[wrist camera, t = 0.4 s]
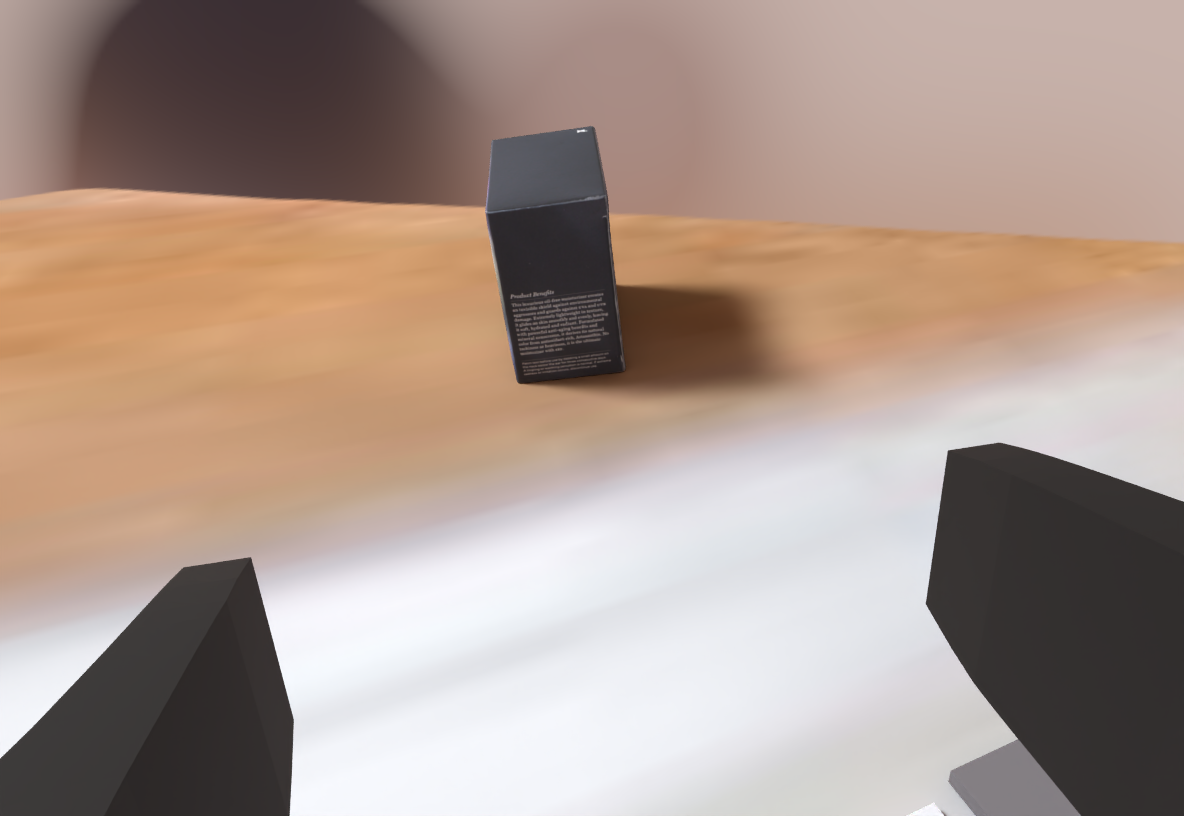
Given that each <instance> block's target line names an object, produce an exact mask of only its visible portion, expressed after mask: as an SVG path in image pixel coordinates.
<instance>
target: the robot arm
mask: <svg viewBox="0 0 1184 816" xmlns="http://www.w3.org/2000/svg"><path fill="white" fill-rule="evenodd" d="M926 605H927V607H928V609H929V610H930V612H931V614H932V616H933V617H934V619H935V621H936V622H937V624H938V626H939V628H940V629H941V631H942V633H943V634H944V636H945V638H946V640H947V641H948V643H949V645H950V646H951V648H952V650H953V651H954V653H955V654H956V656H957V657H958V659H959V661H960V662H961V664H962V665H963V667H964V668H965V670H966V672H967V673H968V675H969V676H970V678H971V679H972V681H973V683H974V684H975V685H976V686H977V688H978V689H979V690H980V692H981V693H982V694H983V695H984V697H985V698H986V699H987V701H988V702H989V703H990V704H991V706H992V707H993V708H994V709H995V711H996V712H997V713H998V714H999V716H1000V717H1001V718H1002V719H1003V721H1004V722H1005V723H1006V724H1007V726H1008V727H1009V728H1010V729H1011V731H1012V732H1013V733H1014V734H1015V736H1016V737H1017V738H1018V739H1019V741H1020V742H1021V743H1022V744H1023V746H1024V747H1025V748H1026V749H1027V750H1028V752H1029V753H1030V754H1031V755H1032V757H1033V758H1034V759H1035V760H1036V761H1037V763H1038V764H1039V765H1040V766H1041V768H1042V769H1043V770H1044V771H1045V772H1046V774H1047V775H1048V776H1049V777H1050V778H1051V780H1052V781H1053V782H1054V783H1055V785H1056V786H1057V787H1058V788H1059V789H1060V791H1061V792H1062V793H1063V794H1064V796H1065V797H1066V798H1067V799H1068V800H1069V802H1070V803H1071V804H1072V805H1073V807H1074V808H1075V809H1076V810H1077V811H1078V813H1079V814H1080V815H1081V816H1184V502H1183V501H1180V500H1177V499H1174V498H1171V497H1168V496H1165V495H1163V494H1160V493H1157V492H1154V491H1151V490H1148V489H1145V488H1143V487H1140V486H1137V485H1134V484H1131V483H1128V482H1125V481H1123V480H1120V479H1117V478H1114V477H1111V476H1108V475H1105V474H1103V473H1100V472H1097V471H1094V470H1091V469H1088V468H1085V467H1082V466H1079V465H1076V464H1073V463H1070V462H1067V461H1064V460H1061V459H1058V458H1054V457H1051V456H1048V455H1045V454H1041V453H1038V452H1035V451H1031V450H1027V449H1024V448H1020V447H1016V446H1012V445H1007V444H1003V443H994V444H988V445H981V446H975V447H968V448H962V449H955V450H948V454H947V461H946V468H945V475H944V482H943V489H942V495H941V502H940V509H939V516H938V523H937V530H936V537H935V544H934V551H933V558H932V565H931V572H930V579H929V586H928V593H927V600H926ZM293 725H294V719H293V715H292V711H291V708H290V704H289V700H288V696H287V692H286V689H285V685H284V681H283V677H282V673H281V670H280V666H279V662H278V658H277V654H276V651H275V647H274V643H273V639H272V635H271V632H270V628H269V624H268V620H267V616H266V613H265V609H264V605H263V601H262V597H261V594H260V590H259V586H258V582H257V578H256V574H255V571H254V567H253V563H252V559H251V557H250V558H243V559H236V560H230V561H223V562H217V563H210V564H204V565H197V566H191V567H184V568H183V569H182V570H180V571H179V572H178V573H177V574H176V575H175V576H174V577H173V578H172V579H171V580H170V581H169V582H168V583H167V585H166V586H165V587H164V588H163V589H162V590H161V591H160V592H159V593H158V594H157V595H156V596H155V597H154V598H153V599H152V601H151V602H150V603H149V604H148V605H147V606H146V607H145V608H144V609H143V610H142V611H141V612H140V614H139V615H138V616H137V617H136V618H135V619H134V620H133V621H132V622H131V623H130V624H129V626H128V627H127V628H126V629H125V630H124V631H123V632H122V633H121V634H120V635H119V636H118V638H117V639H116V640H115V641H114V642H113V643H112V644H111V645H110V646H109V647H108V648H107V649H106V651H105V652H104V653H103V654H102V655H101V656H100V657H99V658H98V659H97V660H96V661H95V662H94V663H93V664H92V665H91V666H90V667H89V669H88V670H87V671H86V672H85V673H84V674H83V675H82V676H81V677H80V678H79V679H78V680H77V681H76V682H75V683H74V684H73V685H72V686H71V687H70V689H69V690H68V691H67V692H66V693H65V694H64V695H63V696H62V697H61V698H60V699H59V700H58V701H57V702H56V703H55V704H54V705H53V706H52V708H51V709H50V710H49V711H48V712H47V713H46V714H45V715H44V716H43V717H42V718H41V719H40V720H39V721H38V722H37V723H36V724H35V725H34V726H33V727H32V728H31V729H30V730H29V731H28V732H27V733H26V734H25V735H24V736H23V737H22V738H21V739H20V740H19V741H18V742H17V743H16V744H15V745H14V746H13V747H12V748H11V749H10V750H9V751H8V752H7V753H6V754H5V755H4V756H2V757H1V758H0V816H289V815H290V797H291V778H292V753H293Z"/></svg>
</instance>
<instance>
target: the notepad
mask: <svg viewBox="0 0 1184 816" xmlns="http://www.w3.org/2000/svg"><path fill="white" fill-rule="evenodd" d="M907 816H944V815H943V814H942V812H941V811H940V810H939V808H938V807H937V806H936V804H935V803H932V804H930V805H928V806H926V807H924V808H921V809H919V810H917V811H915V812H913V813H911V814H909V815H907Z"/></svg>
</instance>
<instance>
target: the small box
mask: <svg viewBox="0 0 1184 816" xmlns="http://www.w3.org/2000/svg"><path fill="white" fill-rule="evenodd" d="M485 213H486V219H487V226H488V232H489V238H490V244H491V250H492V256H493V262H494V267H495V272H496V277H497V282H498V288H499V293H500V298H501V304H502V309H503V314H504V320H505V325H506V330H507V335H508V340H509V346H510V351H511V355H512V360H513V365H514V369H515V374H516V379H517V382H518V383H528V382H538V381H546V380H555V379H564V378H574V377H582V376H590V375H598V374H608V373H616V372H623V371H624V370H625V369H626V365H625V359H624V350H623V342H622V334H621V325H620V316H619V307H618V298H617V288H616V279H615V270H614V261H613V253H612V244H611V233H610V223H609V205H608V196H607V190H606V184H605V179H604V173H603V169H602V162H601V157H600V153H599V147H598V142H597V137H596V132H595V128H594V127H593V126H589V127H583V128H577V129H569V130H562V131H555V132H548V133H540V134H534V135H526V136H519V137H512V138H505V139H498V140H492V143H491V156H490V169H489V180H488V192H487V201H486V210H485Z"/></svg>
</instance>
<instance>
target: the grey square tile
mask: <svg viewBox="0 0 1184 816" xmlns="http://www.w3.org/2000/svg"><path fill="white" fill-rule="evenodd" d="M948 782H949V783H950V784H951V785H952V787H953V788H954V789H955V790H956V792H957V793H958V794H959V795H960V797H961V798H962V799H963V800H964V801H965V803H966V804H967V805H968V806H969V808H970V809H971V810H972V811H973V813H974V814H975V815H976V816H1081V815H1080V814H1079V813H1078V811H1077V810H1076V809H1075V808H1074V807H1073V805H1072V804H1071V803H1070V802H1069V800H1068V799H1067V798H1066V797H1065V796H1064V794H1063V793H1062V792H1061V791H1060V789H1059V788H1058V787H1057V786H1056V785H1055V783H1054V782H1053V781H1052V780H1051V778H1050V777H1049V776H1048V775H1047V774H1046V772H1045V771H1044V770H1043V769H1042V768H1041V766H1040V765H1039V764H1038V763H1037V761H1036V760H1035V759H1034V758H1033V757H1032V755H1031V754H1030V753H1029V752H1028V750H1027V749H1026V748H1025V747H1024V746H1023V744H1022V743H1021V742H1020V741H1019V739H1018V740H1016V741H1014V742H1011V743H1009V744H1007V745H1005V746H1003V747H1001V748H999V749H997V750H994V751H992V752H990V753H988V754H986V755H984V756H982V757H979V758H977V759H975V760H973V761H971V762H969V763H967V764H965V765H962V766H960V767H958V768H956V769H954V770H952V771H951V773H950V777H949V781H948Z"/></svg>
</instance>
